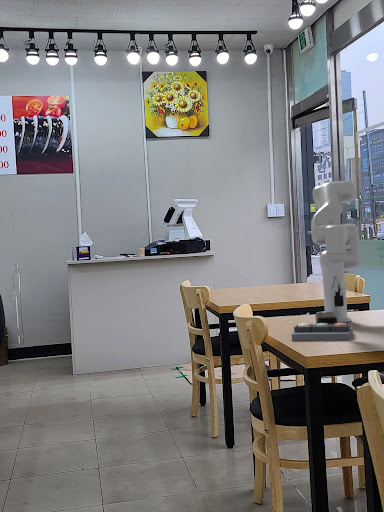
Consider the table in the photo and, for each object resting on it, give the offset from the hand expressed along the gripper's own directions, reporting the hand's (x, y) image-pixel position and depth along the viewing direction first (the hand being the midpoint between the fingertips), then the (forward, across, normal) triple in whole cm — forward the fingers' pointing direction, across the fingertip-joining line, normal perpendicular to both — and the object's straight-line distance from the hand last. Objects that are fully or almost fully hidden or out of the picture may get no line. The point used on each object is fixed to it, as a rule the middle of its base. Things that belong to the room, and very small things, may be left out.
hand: (339, 306), depth 239 cm
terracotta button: (+9, +1, 0) cm, 9 cm away
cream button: (+9, +1, -14) cm, 16 cm away
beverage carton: (+12, -18, -8) cm, 23 cm away
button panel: (+12, +1, -7) cm, 13 cm away
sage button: (+9, +1, -7) cm, 11 cm away
